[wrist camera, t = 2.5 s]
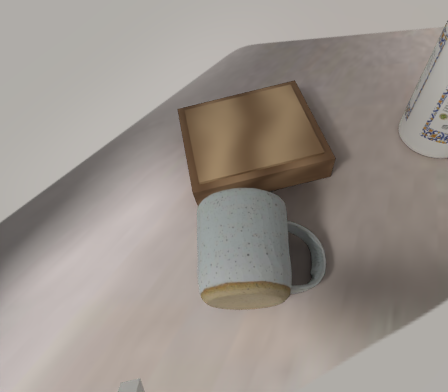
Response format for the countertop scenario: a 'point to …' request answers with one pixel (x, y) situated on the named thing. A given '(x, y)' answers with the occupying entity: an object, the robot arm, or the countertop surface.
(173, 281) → the countertop surface
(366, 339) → the countertop surface
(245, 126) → the walnut base
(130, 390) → the robot arm
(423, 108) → the bath foam
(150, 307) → the countertop surface
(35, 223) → the countertop surface
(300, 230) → the ceramic mug
